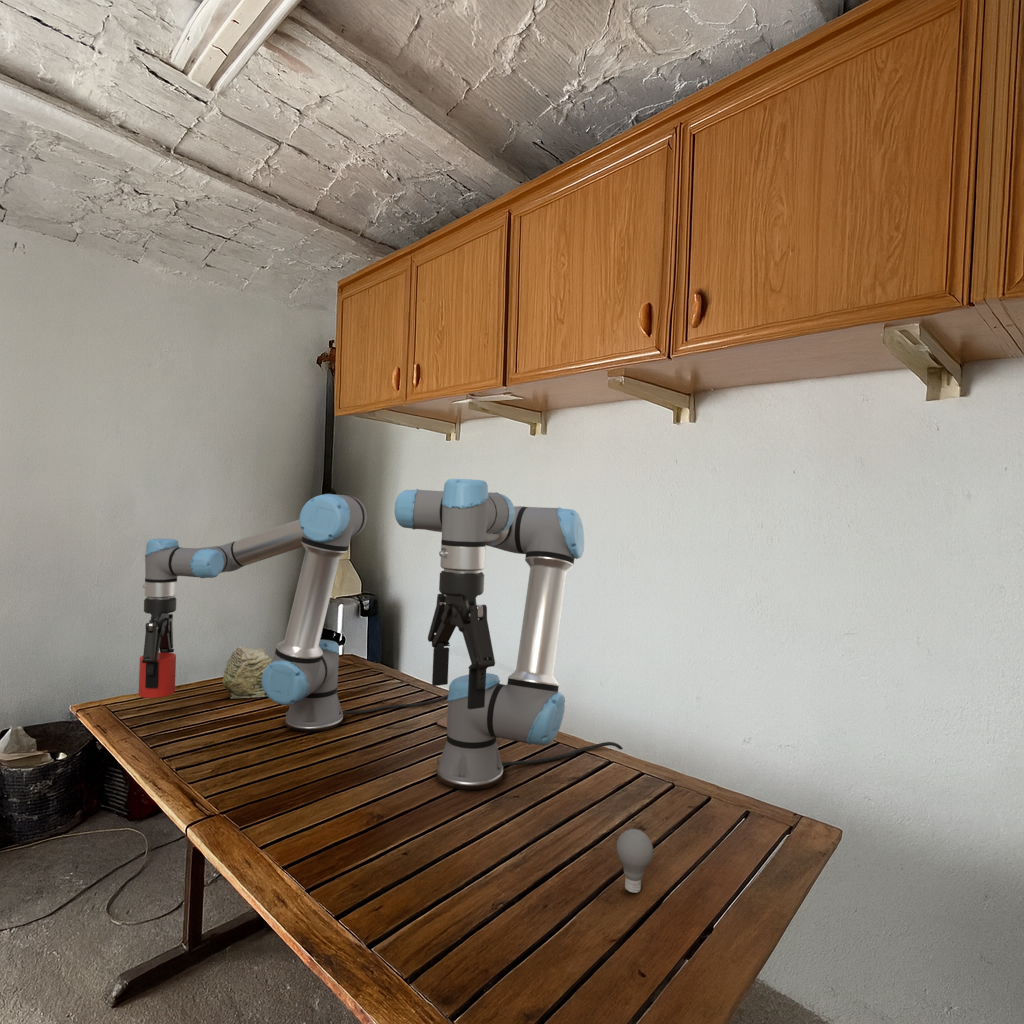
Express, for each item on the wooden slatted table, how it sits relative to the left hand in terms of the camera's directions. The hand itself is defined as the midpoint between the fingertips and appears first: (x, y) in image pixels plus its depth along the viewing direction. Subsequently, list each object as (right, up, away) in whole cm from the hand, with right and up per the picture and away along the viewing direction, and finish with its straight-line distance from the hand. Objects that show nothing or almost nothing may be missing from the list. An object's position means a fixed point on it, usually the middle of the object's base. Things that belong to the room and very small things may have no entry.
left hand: (157, 682), depth 168 cm
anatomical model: (+80, -15, +13) cm, 82 cm away
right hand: (+85, +14, -61) cm, 105 cm away
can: (0, -3, 0) cm, 3 cm away
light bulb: (+114, -18, -62) cm, 131 cm away
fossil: (+13, -12, +30) cm, 35 cm away
